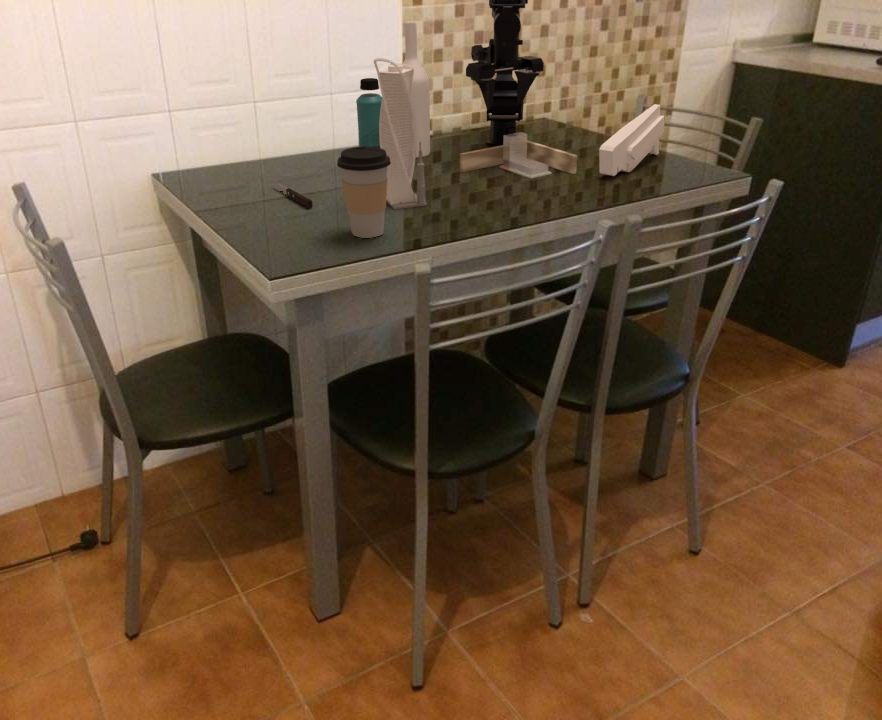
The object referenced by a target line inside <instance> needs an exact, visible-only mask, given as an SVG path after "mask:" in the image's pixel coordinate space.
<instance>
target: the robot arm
mask: <svg viewBox="0 0 882 720" xmlns="http://www.w3.org/2000/svg"><path fill="white" fill-rule="evenodd" d="M527 4H529V0H488V6H489V9H491V17H492V19H493V38H490V39H489V41H488V46H485V47H483V46H482V44H475V45H473V46H471V49H470V50H471V51H470V52H471V53H470V56H471V60H472V61H473V62H471V63H470V62H469V63H468V64H467V66H466V67H465V77H468V78H470V80H471V81H473V82H474V81H475V83H476V84H477V86H478V87H479V89H480V92H481V95H482V98H483V102H484V104H485V107H486V122H490V127H489V128H490V129H489V133H490V134H489V136H490V137H489V140H486V141H485V142H484V143H485V144H486V145H490V146H492V147H496V146H501V145H503V140H504V135H508V134H513V133H517V122H521V121H523V117H524V100H525V98H526V96H527V94H528V92H529V90H530V88H531V86H532V85H533V83H534V81H535V80H536V78H537V77H538V76H540V72H544V68H545V66H544V65H545V63H544V61H543V59H542V57H539V56H538V57H537V56H531V55H527V56H526V55H525V56H519V49H520V46H523V43H524V42H523V41H524V39H520V33H521V28H522V23H521V9H525V8H526V5H527ZM513 71H514V74H515V77H516V79H517V80H515V79H514V77H513ZM495 75H496V76H495ZM494 77H495V78H494Z"/></svg>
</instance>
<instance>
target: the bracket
mask: <svg viewBox="0 0 882 720" xmlns="http://www.w3.org/2000/svg"><path fill="white" fill-rule="evenodd" d="M527 140H528V133H526V132H522V131H521V132H516V133H513V134H508V135H504V140H503V164H502V165H503V166H504V167H507V168H510V169H513V170H516V171H519V172H521V173H524V174H527V175H530V176H533V175H538V174H542V173H547V172H548V171H549V165H547V164H544V163H541V162H538V161H535V160H532V159H529V158H526V157H527Z"/></svg>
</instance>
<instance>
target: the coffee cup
mask: <svg viewBox="0 0 882 720" xmlns="http://www.w3.org/2000/svg"><path fill="white" fill-rule="evenodd" d="M390 164H391V162H390V158H389V157H388V156H387V155H386V151H385V150H384V149H381V148H377V147H359V146H355V147H354V146H353V147H350V148H349V147H348V148H346V149H343V150H342V151H340V157H338V159H337V163H336V165H337V167H338V168H340V169H341V177H342V178H341V181H342V182H341V183H342V188H343V194H344V200H345V206H346V209H347V212H348V213H347V214H348V219H349V225H350V229H351V231H350V232H351V235H352V234H353V235H354V236H357V237H361V238H370V239H372V238H371V237H376V236H380V235H382V234H384V229H385V214H386V209H387V202H386V196H387V166H389V165H390ZM353 235H352V236H353ZM354 236H353V237H354ZM382 236H383V235H382ZM380 237H381V236H380ZM361 238H360V239H361ZM376 238H377V237H376Z"/></svg>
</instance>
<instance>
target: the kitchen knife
mask: <svg viewBox="0 0 882 720" xmlns="http://www.w3.org/2000/svg"><path fill="white" fill-rule="evenodd" d="M272 186H273V187H274V186H275V187H276V188H278V189H279V190H281V191H283V192H284V193H286V194H287V195H288V196H289V198H290V199H291V198H292V201H294V200H295V201H296V203H297V202H298V203H297V204H299V203H300V204H299V205H301V204H302V205H301V206H305V207H306V208H307V209H308V208H313V200H312V199H311V198H308V197H306V196H304V195H302V194H300V193H299V192H296V191H295V190H293V189H291V188H287V187H286V186H284V185H282V184H280V183H278V182H277V183H272ZM275 187H274V188H275ZM276 188H275V189H276ZM279 190H278V191H279ZM287 195H286V196H287ZM288 196H287V197H288ZM295 201H294V202H295Z"/></svg>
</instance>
